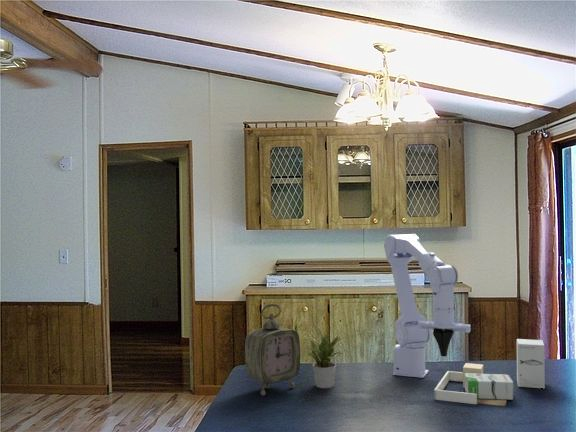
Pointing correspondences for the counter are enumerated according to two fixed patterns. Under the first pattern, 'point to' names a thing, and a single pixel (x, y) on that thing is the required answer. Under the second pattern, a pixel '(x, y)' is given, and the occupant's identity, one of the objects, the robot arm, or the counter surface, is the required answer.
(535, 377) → the supplement box
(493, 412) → the counter surface
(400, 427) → the counter surface
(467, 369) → the kraft carton
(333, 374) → the house plant
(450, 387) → the counter surface
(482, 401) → the cork mat
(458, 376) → the tray
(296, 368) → the tabletop clock
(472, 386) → the ink box
